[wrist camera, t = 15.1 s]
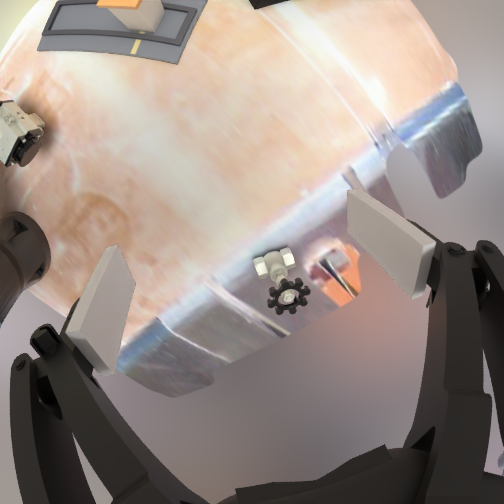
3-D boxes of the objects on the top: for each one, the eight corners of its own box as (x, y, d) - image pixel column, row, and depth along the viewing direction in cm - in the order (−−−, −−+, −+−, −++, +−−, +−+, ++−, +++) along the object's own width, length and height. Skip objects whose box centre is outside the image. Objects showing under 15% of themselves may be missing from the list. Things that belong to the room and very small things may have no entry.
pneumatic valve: (48, 156, 33) (7, 175, 23) (13, 119, 27) (-30, 130, 17) (65, 130, 32) (24, 141, 21) (28, 93, 26) (-15, 96, 16)
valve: (249, 248, 48) (262, 290, 37) (284, 236, 48) (306, 274, 37) (259, 277, 51) (273, 321, 41) (292, 265, 51) (313, 306, 41)
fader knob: (168, 10, 25) (154, -27, 14) (156, 36, 27) (135, 7, 16) (139, 6, 23) (115, -28, 12) (126, 32, 25) (96, 5, 14)
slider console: (207, 0, 26) (207, -5, 24) (177, 64, 31) (175, 62, 29) (66, -9, 18) (62, -12, 16) (39, 51, 23) (33, 49, 21)
